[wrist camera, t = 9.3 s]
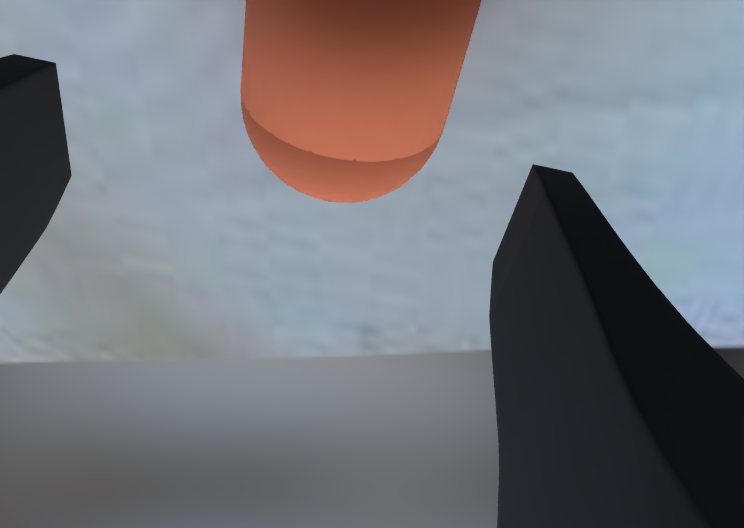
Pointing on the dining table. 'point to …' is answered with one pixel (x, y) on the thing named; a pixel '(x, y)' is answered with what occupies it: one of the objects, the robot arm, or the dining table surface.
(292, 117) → the sweet potato
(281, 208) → the dining table surface
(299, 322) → the dining table surface
